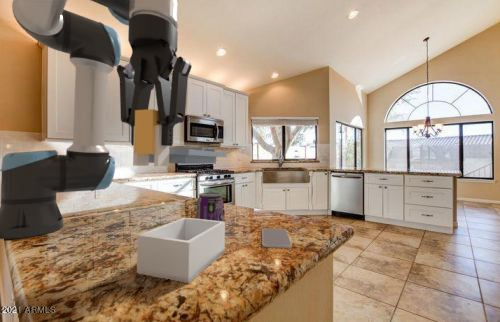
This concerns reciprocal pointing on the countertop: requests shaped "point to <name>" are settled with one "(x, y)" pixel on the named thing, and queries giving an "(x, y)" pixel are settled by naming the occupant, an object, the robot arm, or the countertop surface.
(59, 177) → the robot arm
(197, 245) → the tub
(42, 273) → the countertop surface
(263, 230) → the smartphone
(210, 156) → the lid
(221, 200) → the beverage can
